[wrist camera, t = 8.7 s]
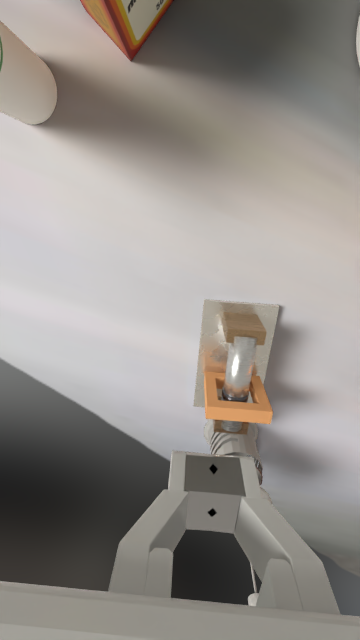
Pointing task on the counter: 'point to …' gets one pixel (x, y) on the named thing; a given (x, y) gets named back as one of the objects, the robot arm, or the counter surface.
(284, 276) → the counter surface
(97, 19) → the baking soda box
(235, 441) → the french press
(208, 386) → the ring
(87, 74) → the counter surface
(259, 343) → the pipe rig
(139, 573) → the robot arm
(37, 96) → the cylindrical container
